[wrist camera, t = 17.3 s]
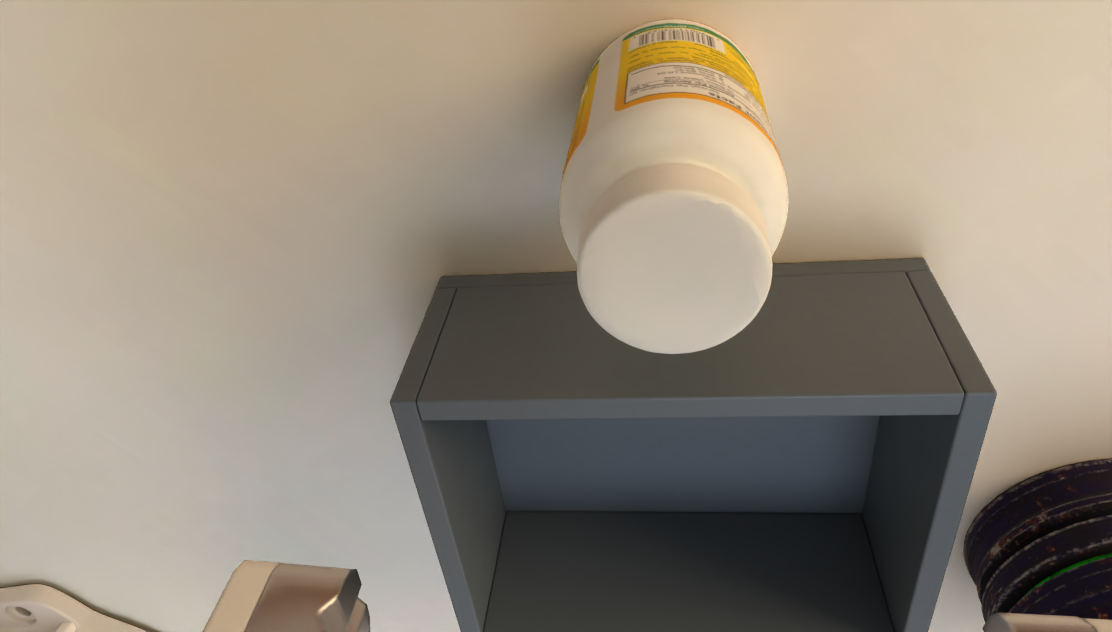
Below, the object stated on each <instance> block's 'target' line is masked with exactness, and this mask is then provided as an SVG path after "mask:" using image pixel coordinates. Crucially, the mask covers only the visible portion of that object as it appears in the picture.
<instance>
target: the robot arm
mask: <svg viewBox="0 0 1112 632" xmlns="http://www.w3.org/2000/svg"><path fill="white" fill-rule="evenodd" d="M360 587H361V581H360V578H359V575H358V572H357V569H348V568H336V567H324V566H311V565H299V564H286V563H280V562H265V561H250V560H244V561H243V562H242V563H241V564H240V565H239V566H238V567H237V568H236V569H235V570H234V572H233V573H232V575H231V577H230V579H229V581H228V583H227V585H226V587H225V589H224V591H223V593H222V595H221V597H220V599H219V600H218V602H217V604H216V606H215V608H214V610H213V612H212V614H211V616H210V618H209V620H208V622H207V624H206V626H205V628H204V630H203V632H370V616H369V611H368V607H367V604H366V603H364V602H363V601H362V600H361V599H359V598H358V597H357V596H358V593H359V590H360ZM983 631H984V632H1112V620H1106V619H1087V618H1079V617H1074V616H1055V615H1036V614H1017V613H996V614H993V615H991V616H989V618H988V619H987V621H986V623H985V625H984V627H983ZM0 632H147V631H145V630H142V629H140V628H138V627H135V626H132V625H130V624H127V623H124V622H122V621H119V620H116V619H113V618H110V617H108V616H105V615H103V614H100V613H98V612H96V611H94V610H92V609H90V608H88V607H87V606H85V605H84V604H82V603H80V602H78V601H77V600H75V599H73V598H72V597H70V596H68V595H66V594H65V593H63V592H61V591H59V590H56V589H54V588H52V587H49V586H46V585H41V584H30V585H22V586H14V587H6V588H0Z"/></svg>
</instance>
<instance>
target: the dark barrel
mask: <svg viewBox="0 0 1112 632" xmlns="http://www.w3.org/2000/svg"><path fill="white" fill-rule="evenodd" d="M964 558H965V562H966V566H967V568H968V571H969V573H970V576H971V578H972V579H973V581H974V583H975V585H976V586H977V591H978V596H979V599H980V602H981V604H982V612H983V617H984V620H985V623H986V621H987V619H988V618H989V616H991V615H993V614H996V613H1017V614H1036V615H1055V616H1074V617H1079V618H1087V619H1106V620H1112V459H1106V460H1096V461H1088V462H1083V463H1078V464H1073V465H1068V466H1065V467H1061V468H1058V469H1054V470H1051V471H1048V472H1045V473H1043V474H1040V475H1038V476H1035V477H1033V478H1030V479H1028V480H1026V481H1024V482H1022V483H1020V484H1018V485H1016V486H1014V487H1012V488H1011V489H1009V490H1008V491H1006V492H1005V493H1003V494H1002V495H1000V496H999V497H997V498H996V499H995V500H994V501H992V502H991V503H990V504H989V505H988V506H987V507H986V508H984V509H983V511H982V512H981V513H980V514H979V515H978V517H977V518H976V519H975V520H974V522H973V523H972V525H971V527H970V529H969V530H968V532H967V536H966V539H965V542H964Z"/></svg>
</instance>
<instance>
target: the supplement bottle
mask: <svg viewBox="0 0 1112 632" xmlns="http://www.w3.org/2000/svg"><path fill="white" fill-rule="evenodd" d="M788 205H789V201H788V187H787V180H786V176H785V172H784V168H783V164H782V161H781V158H780V155H779V151H778V148H777V144H776V141H775V138H774V135H773V132H772V128H771V125H770V122H769V119H768V116H767V112H766V109H765V106H764V102H763V98H762V95H761V91H760V87H759V83H758V81H757V78H756V76H755V73H754V71H753V69H752V66H751V64H750V63H749V61H748V59H747V58H746V56H745V55H744V53H743V52H742V51H741V50H740V49H739V48H738V47H737V46H736V45H735V43H733V42H732V41H731V40H730V39H729V38H728V37H726V36H725V35H723V34H722V33H720V32H719V31H717V30H715V29H713V28H711V27H709V26H706V25H703V24H700V23H697V22H693V21H688V20H673V19H670V20H659V21H654V22H650V23H646V24H643V25H641V26H638V27H636V28H634V29H632V30H630V31H628V32H627V33H625V34H623V35H622V36H620V37H619V38H617V39H616V40H615V41H613V42H612V43H611V44H610V45H609V46H608V47H607V48H606V49H605V50H604V51H603V52H602V54H601V55H600V56H599V58H598V59H597V60H596V62H595V63H594V65H593V67H592V68H591V70H590V72H589V75H588V77H587V79H586V82H585V85H584V88H583V92H582V96H581V100H580V105H579V109H578V114H577V118H576V123H575V127H574V131H573V136H572V140H571V144H570V148H569V152H568V156H567V160H566V164H565V166H564V171H563V177H562V183H561V188H560V197H559V217H560V224H561V229H562V233H563V236H564V239H565V242H566V245H567V247H568V249H569V251H570V253H571V255H572V257H573V258H574V260H575V262H576V263H577V282H578V289H579V292H580V294H581V297H582V300H583V302H584V304H585V306H586V308H587V310H588V311H589V313H590V315H591V316H592V317H593V318H594V319H595V321H596V322H597V323H598V324H599V325H600V326H601V327H602V328H603V329H604V330H606V331H607V332H608V333H609V334H611V335H612V336H614V337H615V338H617V339H618V340H620V341H622V342H624V343H626V344H628V345H631V346H633V347H636V348H639V349H642V350H645V351H649V352H654V353H664V354H682V353H692V352H696V351H701V350H705V349H708V348H711V347H714V346H716V345H718V344H721V343H723V342H725V341H727V340H728V339H730V338H732V337H733V336H735V335H736V334H737V333H739V332H740V331H742V330H743V329H744V328H745V327H746V326H747V325H748V324H749V323H750V322H751V321H752V320H753V319H754V318H755V316H756V315H757V314H758V312H759V311H760V309H761V307H762V306H763V304H764V302H765V300H766V298H767V295H768V292H769V289H770V285H771V279H772V266H773V264H772V255H773V254H774V252H775V250H776V249H777V247H778V244H779V242H780V240H781V237H782V234H783V232H784V228H785V225H786V220H787V214H788Z"/></svg>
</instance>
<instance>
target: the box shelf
mask: <svg viewBox="0 0 1112 632" xmlns="http://www.w3.org/2000/svg"><path fill="white" fill-rule="evenodd" d="M996 395H997V392H996V390H995V388H994V386H993V385H992V383H991V381H990V379H989V377H988V375H987V374H986V372H985V370H984V368H983V366H982V364H981V363H980V361H979V359H978V357H977V355H976V353H975V351H974V350H973V348H972V346H971V344H970V342H969V340H968V339H967V337H966V335H965V333H964V331H963V329H962V328H961V326H960V324H959V322H958V320H957V318H956V316H955V315H954V313H953V311H952V309H951V307H950V305H949V304H948V302H947V300H946V298H945V296H944V294H943V293H942V291H941V289H940V287H939V285H938V283H937V281H936V280H935V278H934V276H933V274H932V272H931V271H930V269H929V267H928V265H927V263H926V261H925V259H923V258H913V259H887V260H861V261H835V262H809V263H783V264H773V266H772V279H771V285H770V289H769V292H768V295H767V298H766V300H765V302H764V304H763V306H762V307H761V309H760V311H759V312H758V314H757V315H756V316H755V318H754V319H753V320H752V321H751V322H750V323H749V324H748V325H747V326H746V327H745V328H744V329H743V330H742V331H740V332H739V333H737V334H736V335H735V336H733V337H732V338H730V339H728V340H727V341H725V342H723V343H721V344H718V345H716V346H714V347H711V348H708V349H705V350H701V351H696V352H692V353H682V354H664V353H654V352H649V351H645V350H642V349H639V348H636V347H633V346H631V345H628V344H626V343H624V342H622V341H620V340H618V339H617V338H615V337H614V336H612V335H611V334H609V333H608V332H607V331H606V330H604V329H603V328H602V327H601V326H600V325H599V324H598V323H597V322H596V321H595V319H594V318H593V317H592V316H591V315H590V313H589V311H588V310H587V308H586V306H585V304H584V302H583V300H582V297H581V294H580V292H579V289H578V282H577V272H551V273H525V274H499V275H474V276H448V277H441V278H440V280H439V282H438V285H437V287H436V290H435V292H434V294H433V297H432V299H431V302H430V304H429V307H428V309H427V312H426V314H425V317H424V319H423V322H422V324H421V326H420V329H419V331H418V334H417V336H416V339H415V341H414V344H413V346H412V349H411V351H410V354H409V356H408V358H407V361H406V363H405V366H404V368H403V371H402V373H401V376H400V378H399V381H398V383H397V386H396V388H395V390H394V393H393V395H392V398H391V400H390V404H391V408H392V411H393V414H394V417H395V421H396V424H397V427H398V430H399V433H400V437H401V440H402V443H403V446H404V450H405V453H406V456H407V459H408V462H409V466H410V469H411V472H412V475H413V479H414V482H415V485H416V488H417V491H418V495H419V498H420V501H421V504H422V508H423V511H424V514H425V517H426V520H427V524H428V527H429V530H430V533H431V537H432V540H433V543H434V546H435V549H436V553H437V556H438V559H439V562H440V566H441V569H442V572H443V575H444V578H445V582H446V585H447V588H448V591H449V595H450V598H451V601H452V604H453V607H454V611H455V614H456V617H457V620H458V624H459V627H460V630H461V632H928V629H929V626H930V623H931V619H932V616H933V612H934V609H935V605H936V602H937V598H938V595H939V592H940V588H941V585H942V581H943V578H944V574H945V571H946V567H947V564H948V561H949V557H950V554H951V550H952V547H953V543H954V540H955V537H956V533H957V530H958V526H959V523H960V519H961V516H962V512H963V509H964V506H965V502H966V499H967V495H968V492H969V488H970V485H971V481H972V478H973V475H974V471H975V468H976V464H977V461H978V457H979V454H980V451H981V447H982V444H983V440H984V437H985V433H986V430H987V426H988V423H989V420H990V416H991V413H992V409H993V406H994V402H995V399H996Z"/></svg>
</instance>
